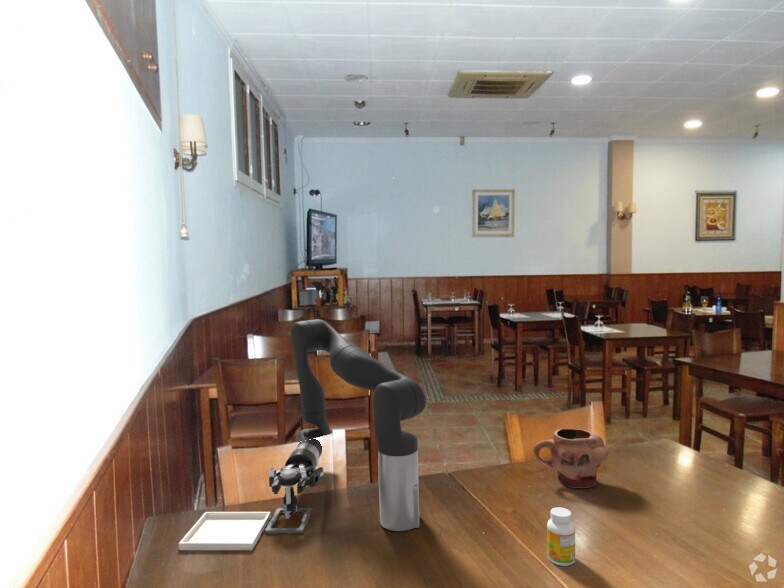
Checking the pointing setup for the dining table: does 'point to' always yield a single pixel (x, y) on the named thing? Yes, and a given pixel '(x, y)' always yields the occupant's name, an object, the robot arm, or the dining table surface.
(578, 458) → the sculpted ceramic mug
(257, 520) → the tray
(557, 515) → the supplement bottle
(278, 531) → the grey flat frame
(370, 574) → the dining table surface
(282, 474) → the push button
